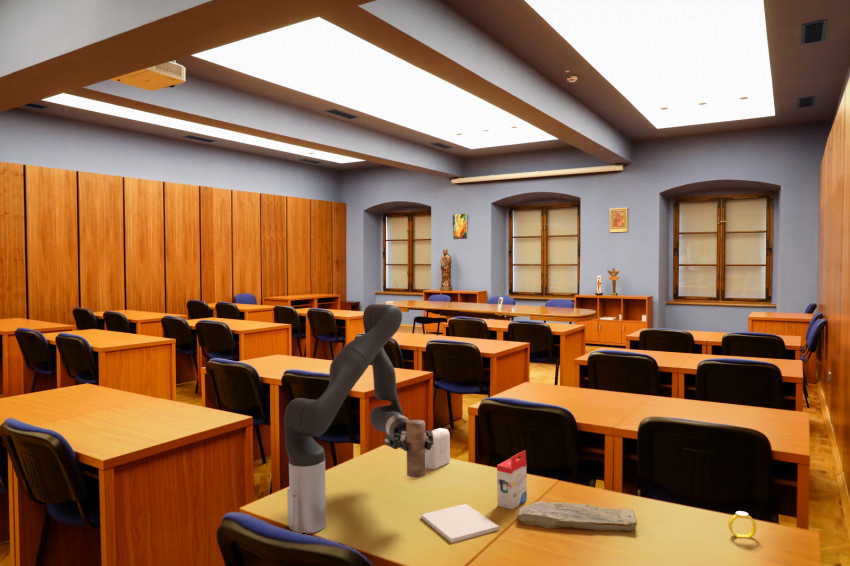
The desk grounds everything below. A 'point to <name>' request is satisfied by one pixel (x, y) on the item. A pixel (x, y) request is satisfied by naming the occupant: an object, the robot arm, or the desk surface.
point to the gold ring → (742, 515)
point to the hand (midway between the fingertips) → (419, 447)
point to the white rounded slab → (439, 449)
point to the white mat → (459, 523)
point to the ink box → (512, 481)
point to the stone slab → (577, 516)
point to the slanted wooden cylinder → (416, 448)
